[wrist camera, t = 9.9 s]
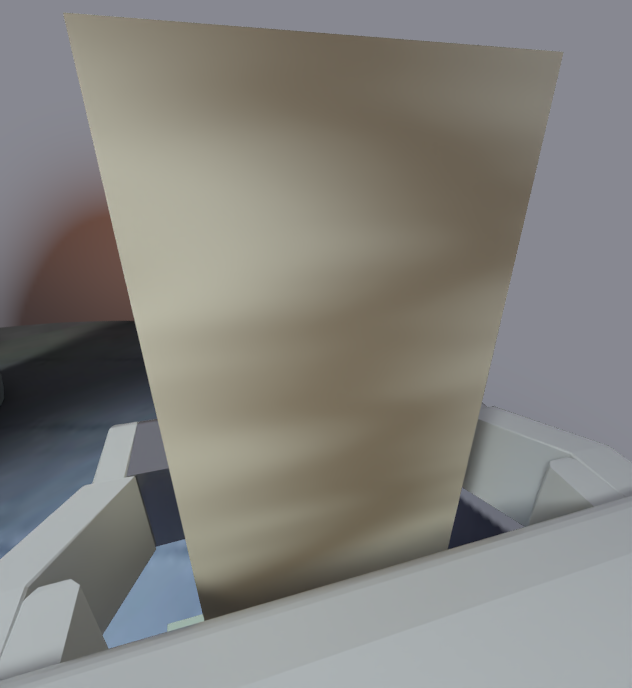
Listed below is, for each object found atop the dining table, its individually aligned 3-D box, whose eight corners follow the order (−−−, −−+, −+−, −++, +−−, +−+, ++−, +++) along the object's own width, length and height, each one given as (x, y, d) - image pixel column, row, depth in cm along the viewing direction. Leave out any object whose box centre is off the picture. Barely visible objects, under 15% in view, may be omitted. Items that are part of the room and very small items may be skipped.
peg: (239, 772, 9) (63, 12, 3) (226, 586, 13) (139, 95, 7) (411, 705, 10) (563, 52, 4) (351, 552, 14) (378, 102, 8)
